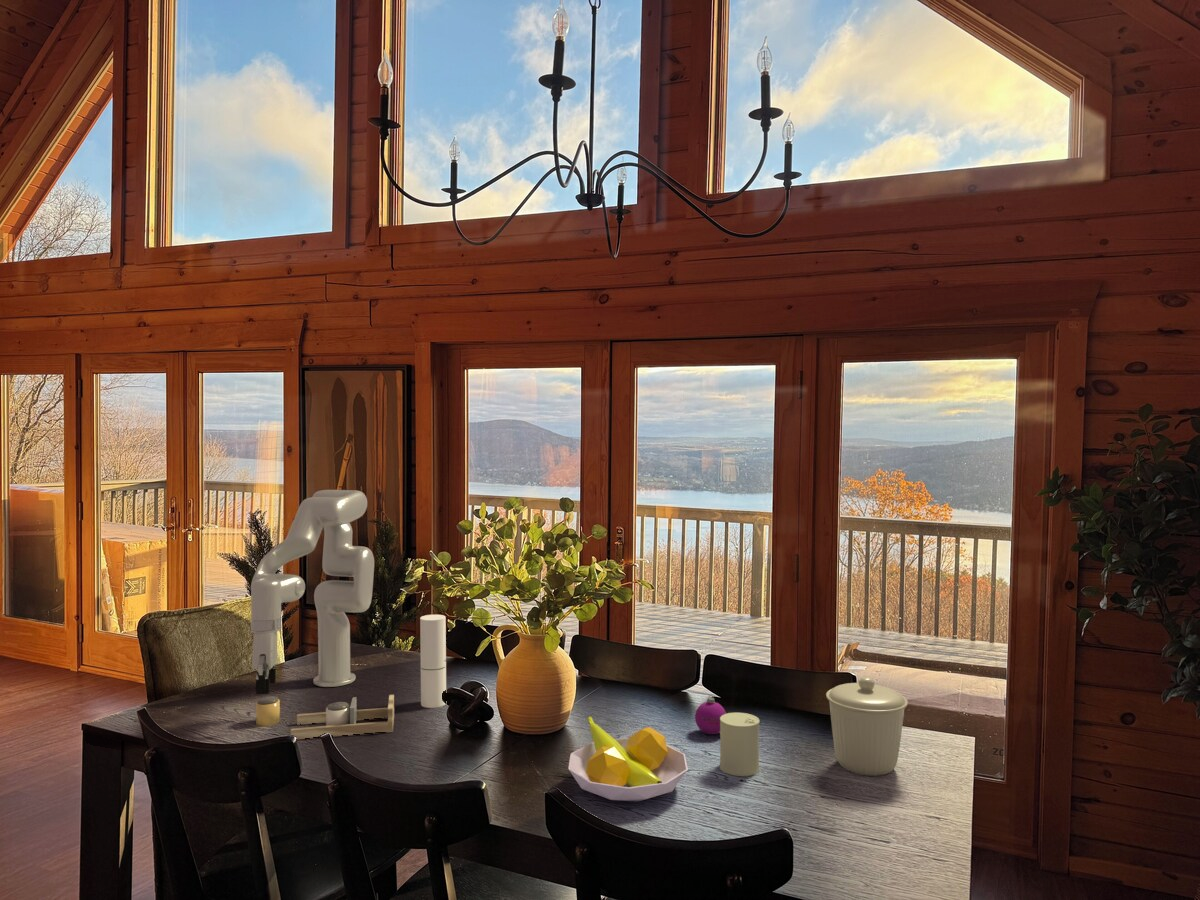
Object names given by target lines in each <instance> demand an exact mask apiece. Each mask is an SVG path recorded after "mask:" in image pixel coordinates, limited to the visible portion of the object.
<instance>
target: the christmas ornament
mask: <svg viewBox="0 0 1200 900" xmlns="http://www.w3.org/2000/svg"><path fill="white" fill-rule="evenodd" d="M724 714H727V711H726V710H725V708H724V707H723V706H722V705H721V704H720V703H719V702H716V701H715V698H714V695H712V694H710V695H708V698H707V700H706V702H702V703H701V704H700V705H699V706H698V707H697V709H696V711H695V715H694V720H695V721H694V722H695V723H696V725H697V727H698V729H699V730H700V731H701V732H702V733H704V734H708V735H716V734H720V717H721V716H722V715H724Z"/></svg>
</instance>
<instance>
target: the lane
mask: <svg viewBox="0 0 1200 900" xmlns="http://www.w3.org/2000/svg"><path fill="white" fill-rule="evenodd" d="M387 704H388V705H387V707H381V708H380V707H377V708H366V709H357V720H356V721H365V720H364V719H369V720H375V719H374V718H382V719H387V720H385V721H373V722H371V721H370V722H362V723H361V722H360V723H356V724H345V725H332V726H326V725H321V726H311V727H310V726H308V727H296V728H291V729H290V736H291V735H294V736H296V738H297V740H305V738H310V739H314V738H313V737H318V736H320V735H322V734H324V733H330V734H331V735H333V737H332V738H335V737H343V736H342V735H348V736H354V735H353V734H360V735H365V734H364V733H373V734H376V733H375V732H386V733H393V732H394V724H395V723H394V722H395V721H394V720H395V694H389V695H388V703H387ZM384 717H385V718H384ZM387 717H388V718H387ZM312 723H316V724H326V711H323V712H321V711H320V712H310V713H309V712H308V713H307V712H306V713H297V714H296V725H297V726H299V725H300V724H301V725H312Z"/></svg>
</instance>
